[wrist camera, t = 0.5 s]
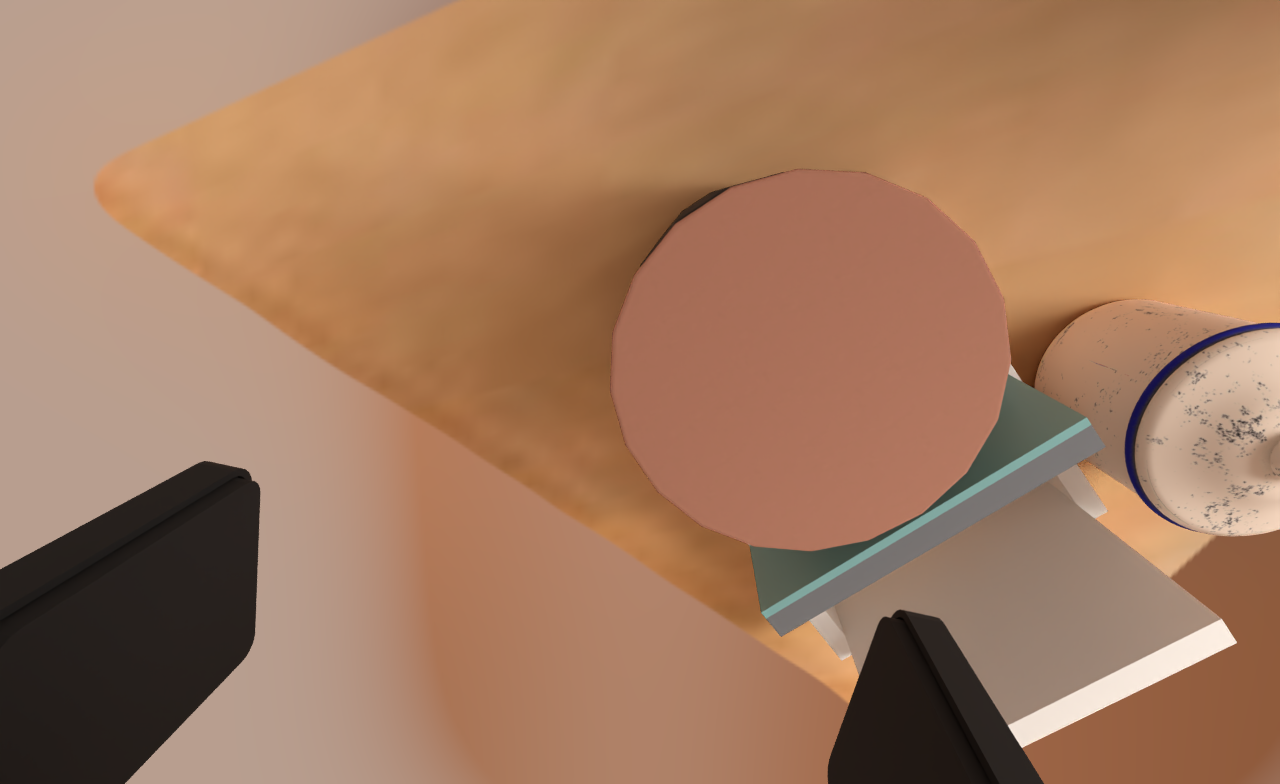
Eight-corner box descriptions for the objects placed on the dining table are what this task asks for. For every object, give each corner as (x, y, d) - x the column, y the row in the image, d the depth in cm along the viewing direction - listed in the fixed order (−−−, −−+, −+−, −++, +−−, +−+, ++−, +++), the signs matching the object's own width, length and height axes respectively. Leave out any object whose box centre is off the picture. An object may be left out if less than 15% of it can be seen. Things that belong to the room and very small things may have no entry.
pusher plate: (920, 325, 34) (1087, 417, 20) (932, 343, 34) (1106, 446, 20) (733, 452, 37) (761, 612, 23) (746, 468, 37) (780, 636, 23)
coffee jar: (629, 361, 36) (575, 508, 19) (672, 162, 33) (653, 123, 16) (817, 404, 36) (933, 590, 19) (877, 208, 33) (1082, 219, 16)
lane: (881, 214, 33) (1011, 224, 20) (1052, 470, 36) (1265, 628, 23) (648, 384, 37) (624, 491, 23) (823, 604, 40) (891, 811, 26)
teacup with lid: (1051, 482, 36) (1210, 606, 25) (1005, 335, 34) (1155, 401, 23) (1285, 400, 34) (1571, 498, 23) (1250, 239, 32) (1545, 260, 21)
